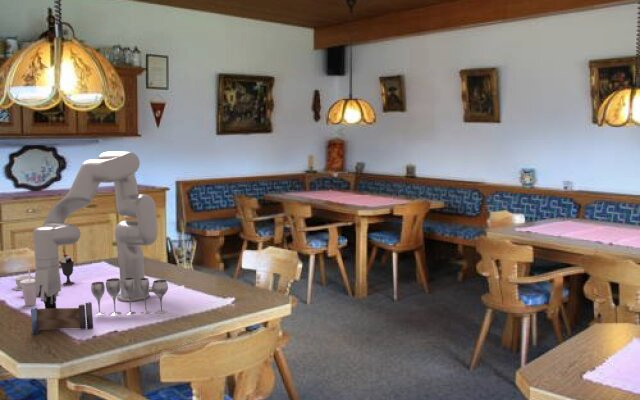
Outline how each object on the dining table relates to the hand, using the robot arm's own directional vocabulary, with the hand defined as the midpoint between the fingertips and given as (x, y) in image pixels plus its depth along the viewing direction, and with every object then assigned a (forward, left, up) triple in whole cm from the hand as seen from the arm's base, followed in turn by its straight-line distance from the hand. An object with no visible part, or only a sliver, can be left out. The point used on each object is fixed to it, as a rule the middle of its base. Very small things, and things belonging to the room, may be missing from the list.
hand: (51, 313), depth 223 cm
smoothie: (+14, -31, -5) cm, 35 cm away
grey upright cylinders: (-5, +6, -5) cm, 9 cm away
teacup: (+22, -59, -5) cm, 64 cm away
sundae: (+5, -61, -5) cm, 62 cm away
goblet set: (-26, -9, -5) cm, 28 cm away
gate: (-3, +3, -4) cm, 6 cm away
